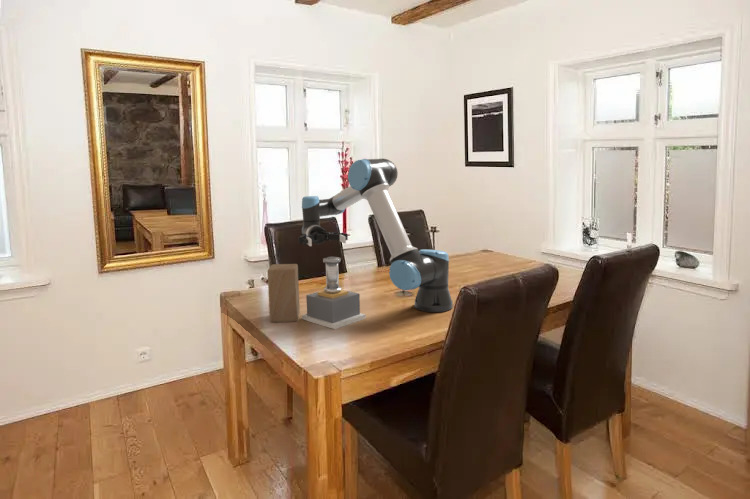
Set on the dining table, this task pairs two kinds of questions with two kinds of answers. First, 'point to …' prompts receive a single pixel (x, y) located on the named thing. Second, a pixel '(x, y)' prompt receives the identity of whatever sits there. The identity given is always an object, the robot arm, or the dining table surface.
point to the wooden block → (283, 292)
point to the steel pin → (332, 274)
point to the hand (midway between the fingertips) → (327, 241)
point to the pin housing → (333, 308)
